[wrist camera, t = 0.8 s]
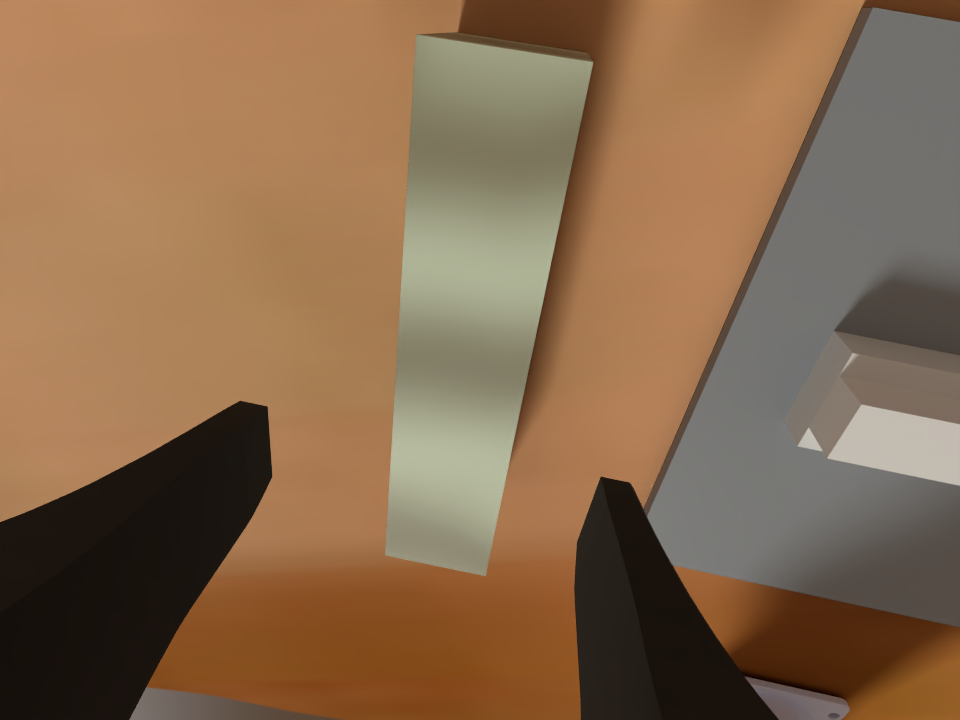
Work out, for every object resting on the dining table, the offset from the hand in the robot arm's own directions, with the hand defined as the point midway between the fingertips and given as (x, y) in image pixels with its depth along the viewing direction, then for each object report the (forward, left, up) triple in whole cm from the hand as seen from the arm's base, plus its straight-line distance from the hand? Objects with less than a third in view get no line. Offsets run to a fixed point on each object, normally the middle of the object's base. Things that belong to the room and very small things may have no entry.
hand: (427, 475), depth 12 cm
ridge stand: (0, -16, -9) cm, 18 cm away
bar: (0, 0, -9) cm, 9 cm away
